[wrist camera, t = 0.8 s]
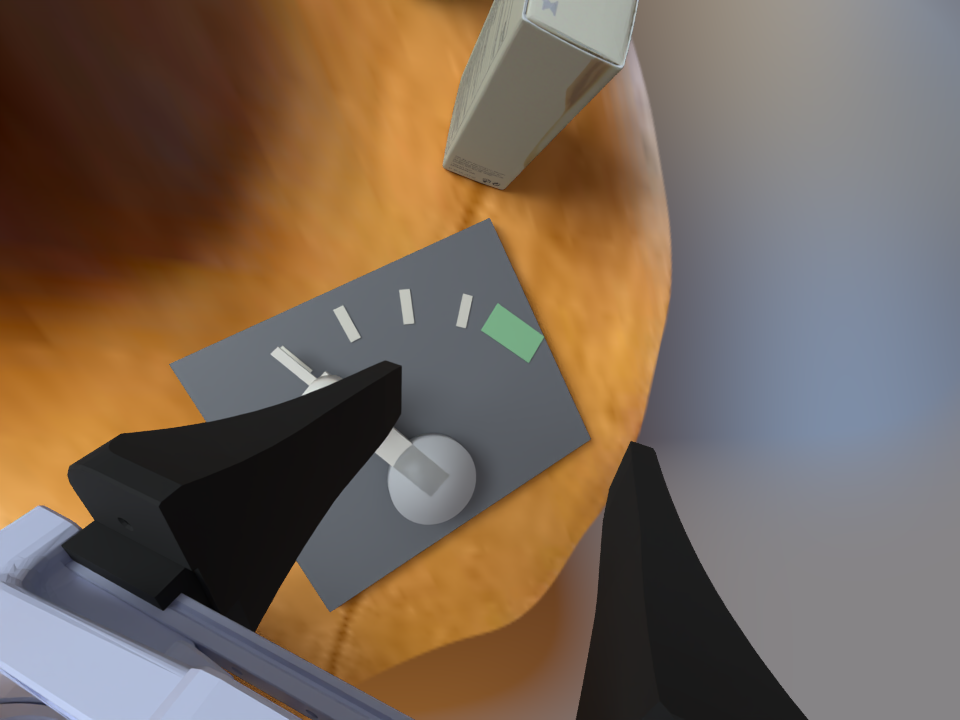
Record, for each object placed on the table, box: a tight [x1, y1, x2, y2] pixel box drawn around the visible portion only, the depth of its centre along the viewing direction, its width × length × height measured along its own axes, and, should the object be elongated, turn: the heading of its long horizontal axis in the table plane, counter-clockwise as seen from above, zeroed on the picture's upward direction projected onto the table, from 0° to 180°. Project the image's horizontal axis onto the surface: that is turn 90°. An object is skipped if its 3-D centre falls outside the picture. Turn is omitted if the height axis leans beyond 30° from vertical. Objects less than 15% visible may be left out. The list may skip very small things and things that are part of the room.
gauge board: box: [169, 218, 591, 612], centre depth 25 cm, size 19×16×1 cm
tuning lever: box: [271, 347, 476, 525], centre depth 21 cm, size 14×5×5 cm, turn 48°
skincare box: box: [443, 0, 639, 190], centre depth 20 cm, size 6×4×12 cm
